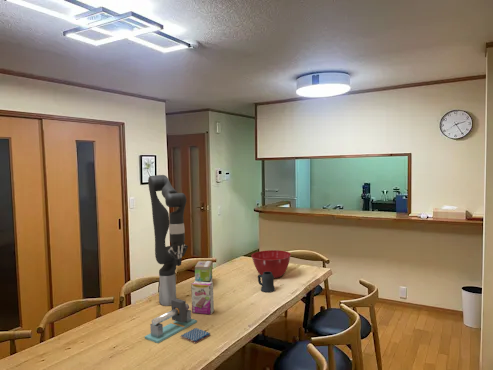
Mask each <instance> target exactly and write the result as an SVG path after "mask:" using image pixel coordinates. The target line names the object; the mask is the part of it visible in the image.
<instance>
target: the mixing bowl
mask: <svg viewBox="0 0 493 370" xmlns="http://www.w3.org/2000/svg"><path fill="white" fill-rule="evenodd" d="M250 255H251V259H252V261H253V264H254V267H255V268H256V271H257V273H258V275H263V272H267V271H268V272H272V274H273V276H274V279H278V278H281V277H282V276H283V275H284V274H285V273H286V271H287V269H288V267H289V264H290V261H291V260H290V259H291V256H292V253H291V252H289V251H285V250H279V249H278V250H277V249H276V250H275V249H271V250H270V249H269V250H261V251H256V252H254V253H252V254H250Z"/></svg>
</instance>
